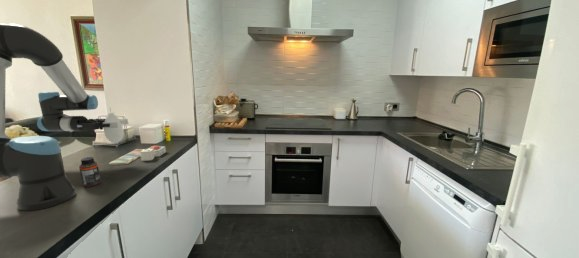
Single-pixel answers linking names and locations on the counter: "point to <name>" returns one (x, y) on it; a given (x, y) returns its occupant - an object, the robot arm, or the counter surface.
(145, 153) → the ivory die
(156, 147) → the red button
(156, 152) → the button housing
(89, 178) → the supplement bottle
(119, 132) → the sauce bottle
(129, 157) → the track board
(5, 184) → the counter surface
